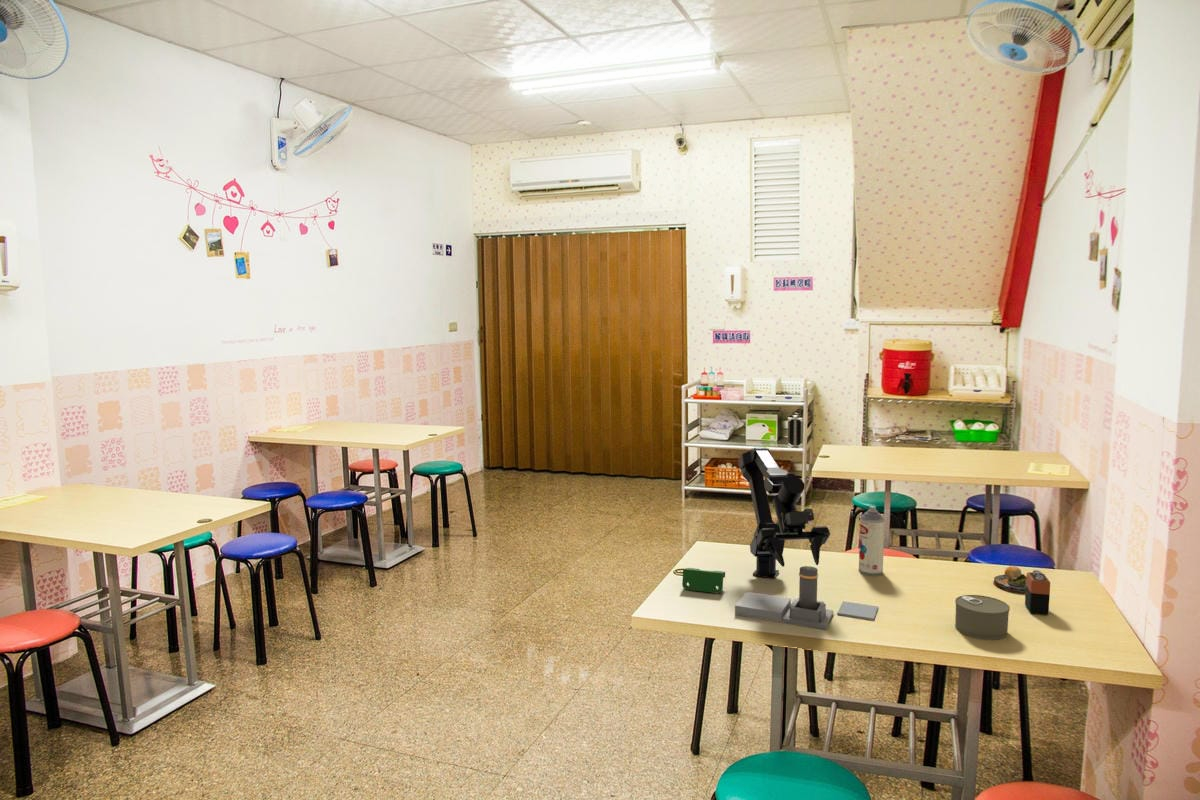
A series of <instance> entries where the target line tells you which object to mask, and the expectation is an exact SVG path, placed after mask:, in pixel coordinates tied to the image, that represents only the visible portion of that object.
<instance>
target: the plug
mask: <svg viewBox="0 0 1200 800" xmlns="http://www.w3.org/2000/svg"><path fill="white" fill-rule="evenodd" d="M798 577H799V582H798V583H799V584H798V585H799V588H798V589H799V591H798V592H799V593H798V596H799V597H798V598H799V608H804V609H811V610H817V601H818V578H819V574H818V568H817V567H814V566H810V565H809V566H808V565H805V566H801V567H799V572H798Z"/></svg>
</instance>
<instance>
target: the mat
mask: <svg viewBox="0 0 1200 800" xmlns="http://www.w3.org/2000/svg"><path fill="white" fill-rule="evenodd" d="M878 610H879V606H877V605H870V604H866V603H858V602H850V601H842V602H841V605H840V607H839V609H838V611H837V613H836V614H837V616H843V617H850V618H856V619H863V620H867V621H868V620H871V621H875V618H876V615H877V612H878Z"/></svg>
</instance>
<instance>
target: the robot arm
mask: <svg viewBox="0 0 1200 800" xmlns="http://www.w3.org/2000/svg"><path fill="white" fill-rule="evenodd" d="M770 453H771V452H770V449H769V448H768V447H765V446H764V447H753V448H751V449H750V450H749V451H746V452H743V453H742V454H740V456H739V458H738V464H737V465H738V468H739V470H740V472H741V476H742V477H743V478H744V479H745V480H746V481H747V482H748V485H749V489H750V493H751V499H752V500H751V502H752V506H753V510H754V515H755V521H756V528H755V530H754V532H753V538H752V540H751V541H750V545H749V551H750V553H751V554H752V555H753V556H754V558H755V557H756V563H755V564H756V566H755V567H756V569H755V571H754V572H753V573H752V576H756V577H763V578H771V579H775V578H776V577H777V575H778V574H779V572H780V570H779V569H776V567H777V562H778V564H779V565H780V567H782V568H784V567H785V560H784V559H785V558H784V556H783V555H784V548H785V542H786V541H790V540H791V541H792V540H793V541H795V540H808V541H809V543H810V545H809V548H810V551H811V555H812V558H813V562H814V564H815V566H818V565H819V564H820V553H821V547H822V546H823V545H825V544H826V542H827V541H828V539H829V538H830V536H831V532H830V529H829V527H828V526H826V525H818V526H817V525H815V526H812V528H811V529H810V531H804V530H805V529H806V527H807V526H806V525H807V524H809V522H813V521H814V520H815V514H814V511H813V508H805V509H803V510H798V508H797V506H796V505H797V503H798V502H799V500H800V498H801V496H802V494H803V492H804V490H805V487H806V485H805V483H804V480H802V479H801V478H800V477H797V476H796V475H795V473H794V472H788V470H786V469H782V468H780V467H779V465H778V464H777V462H776V461H775V460H774V457H773V456H772V455H771V454H770ZM768 495H775V496H774V497H773V499H772V508H774V510H775V516H776V518H777V521H776V522H774V520H773V517H772V511H771V507H770V503H769V502H770V501H769V498H768V497H769V496H768Z"/></svg>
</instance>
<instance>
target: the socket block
mask: <svg viewBox="0 0 1200 800" xmlns="http://www.w3.org/2000/svg"><path fill="white" fill-rule="evenodd" d="M826 605H827V604H826V602H825V601H821V600H817V610H811V609H804V608H799V597H797V598H794V599H793V601H792V598H790V597H784V596H776V595H772V594H771V595H770V594H764V593H758V592H757V593H756V592H751V591H750V592H749V591H746V592H745V593H744V594H743V595H742V597H741V598H740V599H739V600H738V601H737V603H736V604H735V605H734V616H740V615H741V617H746V618H752V619H753V618H754V619H759V620H766V621H771V622H776V623H783V624H789V625H796V626H802V627H807V628H812V629H814V628H815V629H818V630H819V629H820V630H827V628H828V627H829V626H828V625H829V623H830V622H831V620H832V618H833V615H834V610H832V609H827V606H826Z"/></svg>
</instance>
